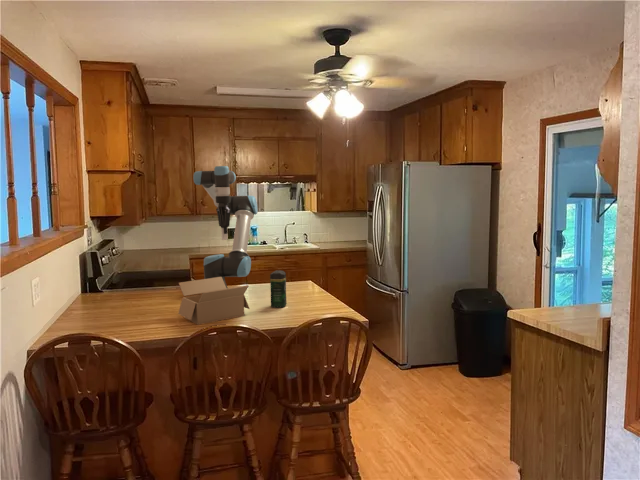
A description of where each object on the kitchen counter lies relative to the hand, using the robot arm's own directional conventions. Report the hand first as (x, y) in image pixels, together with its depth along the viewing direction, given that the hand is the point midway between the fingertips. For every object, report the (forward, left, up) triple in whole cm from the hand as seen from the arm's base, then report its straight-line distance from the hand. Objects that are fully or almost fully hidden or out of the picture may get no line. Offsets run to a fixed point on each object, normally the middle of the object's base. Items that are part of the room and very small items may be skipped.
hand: (224, 239), depth 272 cm
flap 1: (+13, -18, -24) cm, 33 cm away
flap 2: (+31, -18, -24) cm, 43 cm away
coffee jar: (+25, +17, -35) cm, 46 cm away
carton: (+22, -18, -34) cm, 45 cm away
